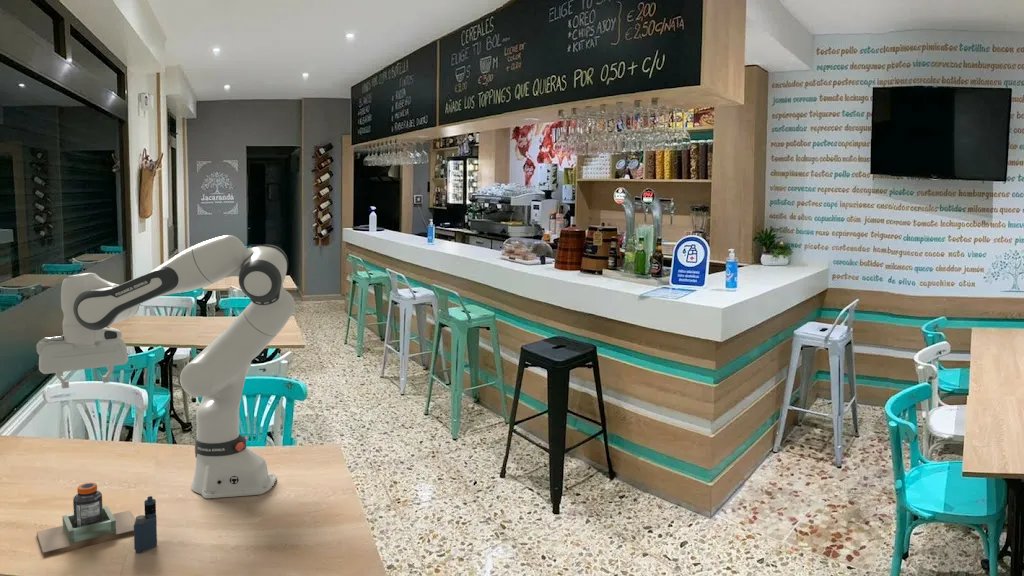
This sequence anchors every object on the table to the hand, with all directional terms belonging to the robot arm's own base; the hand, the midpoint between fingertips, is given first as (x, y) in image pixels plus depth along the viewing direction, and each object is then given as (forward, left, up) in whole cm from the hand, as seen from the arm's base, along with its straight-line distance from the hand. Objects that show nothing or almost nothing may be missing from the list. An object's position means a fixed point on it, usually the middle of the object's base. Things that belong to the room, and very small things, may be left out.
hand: (86, 385), depth 186 cm
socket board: (-11, +23, -30) cm, 40 cm away
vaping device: (-27, +30, -31) cm, 51 cm away
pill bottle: (-11, +23, -30) cm, 39 cm away
